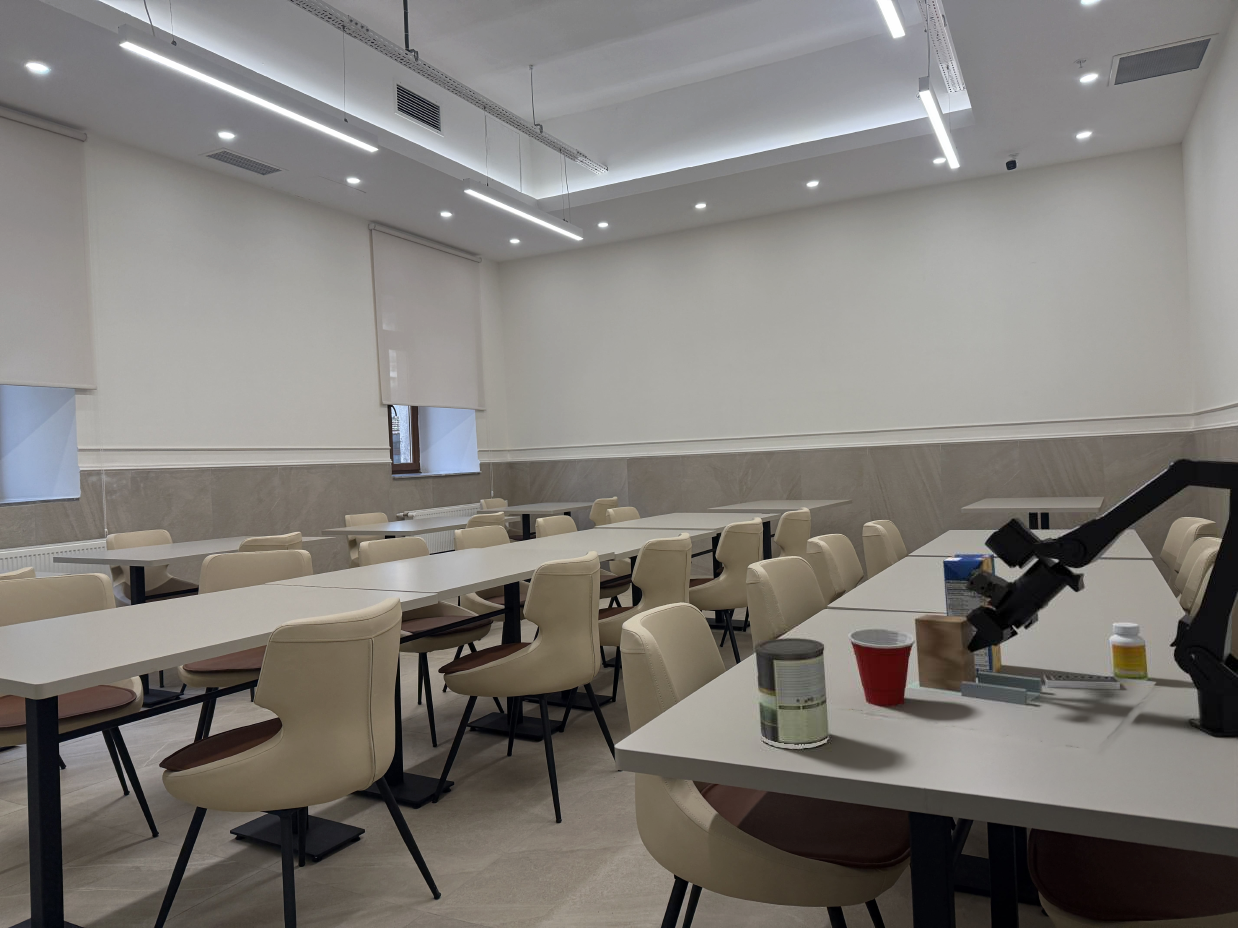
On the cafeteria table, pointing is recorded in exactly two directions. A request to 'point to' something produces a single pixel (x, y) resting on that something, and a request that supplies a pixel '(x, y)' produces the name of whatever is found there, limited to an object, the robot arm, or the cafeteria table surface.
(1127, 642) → the supplement bottle
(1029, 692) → the chute
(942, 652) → the block
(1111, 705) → the cafeteria table surface
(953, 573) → the beverage box
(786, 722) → the coffee can
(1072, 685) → the multiport hub
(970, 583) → the robot arm
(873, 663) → the plastic cup
